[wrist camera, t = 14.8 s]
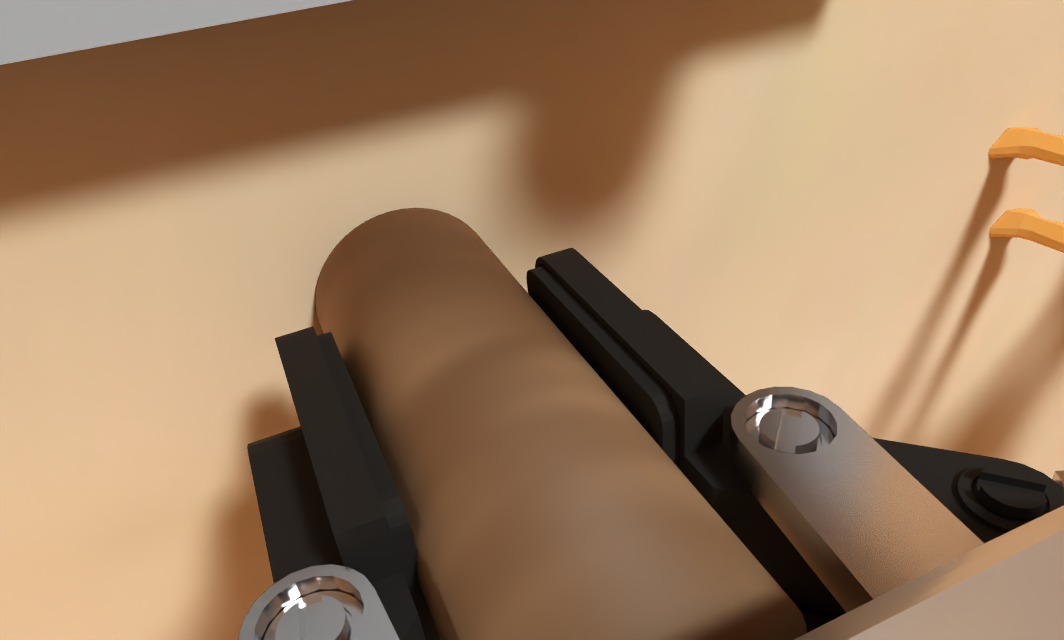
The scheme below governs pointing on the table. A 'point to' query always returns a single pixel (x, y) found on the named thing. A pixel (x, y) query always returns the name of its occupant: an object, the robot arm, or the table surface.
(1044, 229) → the giraffe
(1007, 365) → the table surface
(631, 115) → the table surface
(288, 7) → the stool seat
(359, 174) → the table surface
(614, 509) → the leg peg
